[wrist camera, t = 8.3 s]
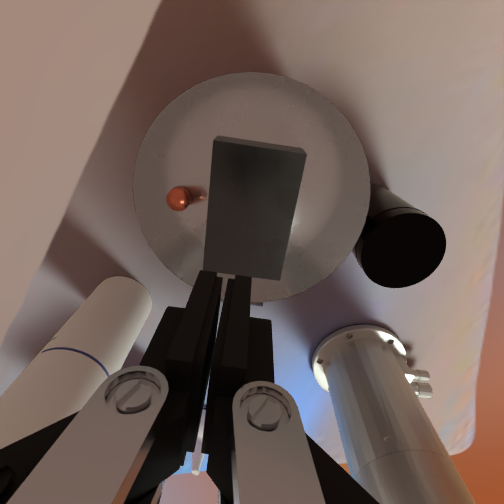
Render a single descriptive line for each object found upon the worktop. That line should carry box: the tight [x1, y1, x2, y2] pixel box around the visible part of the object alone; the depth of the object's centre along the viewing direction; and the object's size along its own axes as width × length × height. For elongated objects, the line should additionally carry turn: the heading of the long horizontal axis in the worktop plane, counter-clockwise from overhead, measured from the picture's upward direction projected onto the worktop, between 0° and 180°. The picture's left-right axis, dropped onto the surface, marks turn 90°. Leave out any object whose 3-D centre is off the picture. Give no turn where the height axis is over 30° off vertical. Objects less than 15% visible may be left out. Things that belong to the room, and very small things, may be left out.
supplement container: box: [351, 184, 446, 288], centre depth 30 cm, size 7×7×10 cm
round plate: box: [133, 72, 370, 306], centre depth 20 cm, size 16×15×3 cm
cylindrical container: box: [0, 276, 152, 449], centre depth 29 cm, size 7×7×25 cm
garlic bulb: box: [191, 409, 206, 475], centre depth 46 cm, size 6×6×8 cm
